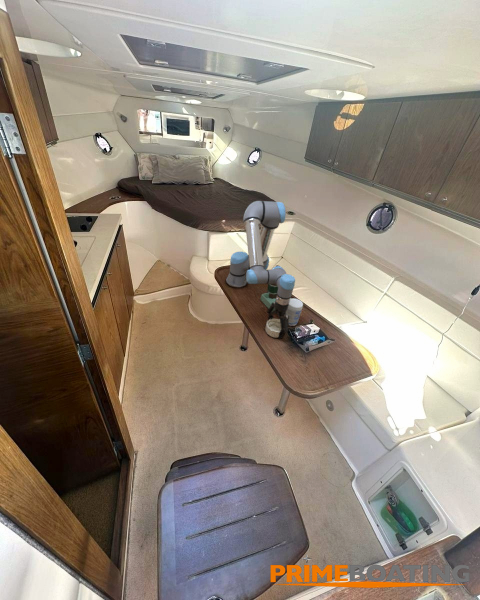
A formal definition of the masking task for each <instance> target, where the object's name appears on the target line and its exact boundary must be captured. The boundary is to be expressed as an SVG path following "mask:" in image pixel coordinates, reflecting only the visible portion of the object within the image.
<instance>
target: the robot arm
mask: <svg viewBox="0 0 480 600" xmlns="http://www.w3.org/2000/svg"><path fill="white" fill-rule="evenodd" d="M242 219H243V220H242V222H243V227H245V234H246V235H245V236H246V245H247V252H245V251H236V252H233V253H231V256H230V260H229V261H230V262H229V263H230V264H229V273H228V275H227V277H226V281H225V282H226V284H227V285H228V287H231V288H233V289H242V288H244V287H246V286H247V284H249V285H261V284H263V285H264V284H265V285H266V284H267V285H268V284H272V283H276V285H277V286H278V291H277V296H276V300H275V302H273V303H272V304H271V306H270V308H269V309H268V308H267V311H266V313H267V314H268V317H267V321H268V320H270V319H274V315H275V314H276V316H277V317H278V319H279V320H280V324H281V330H280V333H279V337H277V338H278V340H280V339H283V338H284V335H285V334H286V333H289V330H290V329H289V327H290V326H289V315H288V316H287V315H286V310H287V309H288V306H289V302H290V299H291V298H292V295H293V291H294V288H295V284H296V278H295V277H294V276H293V275H292V274H288V273H287V271H286V270H285V269H284V268H283V267H282V266H280V265H278V266H276V265H275V266H276V267H275V266H274V267H273V268H272V269H268V268H269V265H270V258H269V255H268V251H269V248H270V245H271V242H272V239H273V236H274V234H275V230H276V229H278V228H279V227H280V224H283V223H285V221H286V207H285V204H284V202H281V201H277V200H276V201H267V200H256V201H255V200H254V201H253V202H251V203H250V204H248V206H247V208H246V209H245V211H244V214H243V218H242ZM260 225H261V226H260ZM274 308H275V310H274V311H273V309H274ZM272 311H273V312H272Z"/></svg>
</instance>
